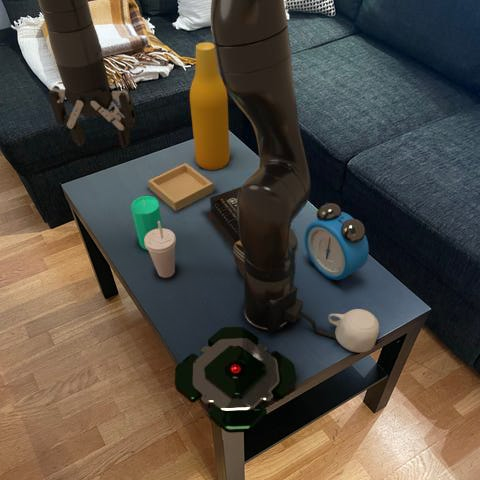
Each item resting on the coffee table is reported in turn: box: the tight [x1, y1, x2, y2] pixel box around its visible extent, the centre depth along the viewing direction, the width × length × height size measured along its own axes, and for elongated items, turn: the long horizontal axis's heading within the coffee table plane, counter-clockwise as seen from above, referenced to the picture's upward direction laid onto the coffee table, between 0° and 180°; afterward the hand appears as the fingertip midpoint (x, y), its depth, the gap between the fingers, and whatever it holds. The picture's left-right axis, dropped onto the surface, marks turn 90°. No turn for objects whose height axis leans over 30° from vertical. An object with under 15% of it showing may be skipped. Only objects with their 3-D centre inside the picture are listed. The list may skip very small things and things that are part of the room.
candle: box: [130, 195, 164, 251], centre depth 104 cm, size 6×6×12 cm
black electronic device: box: [204, 186, 242, 251], centre depth 105 cm, size 20×14×17 cm
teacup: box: [327, 308, 380, 354], centre depth 89 cm, size 10×8×5 cm
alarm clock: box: [304, 202, 370, 283], centre depth 97 cm, size 13×6×15 cm, turn 37°
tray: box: [147, 162, 214, 212], centre depth 119 cm, size 12×12×3 cm
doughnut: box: [232, 241, 244, 278], centre depth 98 cm, size 9×4×10 cm, turn 32°
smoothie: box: [144, 221, 177, 279], centre depth 98 cm, size 6×6×14 cm
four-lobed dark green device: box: [174, 326, 297, 434], centre depth 84 cm, size 18×18×5 cm
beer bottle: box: [189, 41, 231, 171], centre depth 117 cm, size 9×9×29 cm
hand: (103, 144), depth 90 cm, fingers open, 8 cm apart
